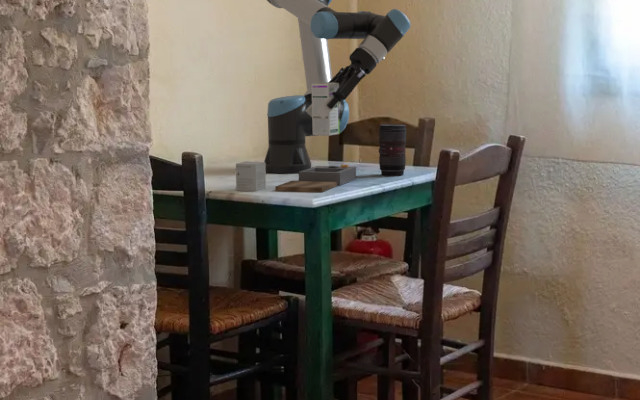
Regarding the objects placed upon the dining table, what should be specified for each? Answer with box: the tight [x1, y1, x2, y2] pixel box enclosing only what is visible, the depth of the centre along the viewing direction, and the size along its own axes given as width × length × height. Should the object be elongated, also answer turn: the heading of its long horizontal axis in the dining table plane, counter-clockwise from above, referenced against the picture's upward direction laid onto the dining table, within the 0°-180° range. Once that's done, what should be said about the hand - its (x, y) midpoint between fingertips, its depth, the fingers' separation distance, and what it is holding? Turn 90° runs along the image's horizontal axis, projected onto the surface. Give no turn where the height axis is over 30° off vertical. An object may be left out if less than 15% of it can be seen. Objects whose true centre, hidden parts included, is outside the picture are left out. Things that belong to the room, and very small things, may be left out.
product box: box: [235, 161, 267, 192], centre depth 251 cm, size 6×6×7 cm
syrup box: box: [311, 82, 341, 137], centre depth 262 cm, size 6×6×14 cm
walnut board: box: [274, 180, 338, 193], centre depth 252 cm, size 13×13×1 cm
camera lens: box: [378, 124, 407, 177], centre depth 280 cm, size 8×8×15 cm
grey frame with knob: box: [298, 164, 357, 187], centre depth 267 cm, size 12×16×4 cm
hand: (314, 115), depth 261 cm, fingers closed on syrup box, 8 cm apart
